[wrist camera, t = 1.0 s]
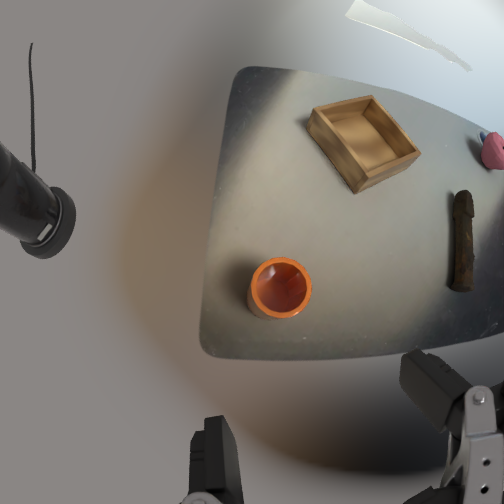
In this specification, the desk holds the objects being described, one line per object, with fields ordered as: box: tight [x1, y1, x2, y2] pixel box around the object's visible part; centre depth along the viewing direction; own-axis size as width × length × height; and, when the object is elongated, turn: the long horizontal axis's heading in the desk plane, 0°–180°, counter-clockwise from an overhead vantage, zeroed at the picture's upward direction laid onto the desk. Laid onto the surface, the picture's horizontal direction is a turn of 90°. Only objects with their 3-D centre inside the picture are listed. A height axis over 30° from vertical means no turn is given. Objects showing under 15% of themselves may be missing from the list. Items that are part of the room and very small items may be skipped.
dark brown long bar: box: [451, 190, 475, 292], centre depth 36 cm, size 19×4×5 cm, turn 162°
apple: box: [481, 132, 504, 170], centre depth 40 cm, size 10×9×10 cm
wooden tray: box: [306, 95, 421, 194], centre depth 38 cm, size 14×14×5 cm
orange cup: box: [247, 257, 312, 320], centre depth 29 cm, size 6×6×9 cm
